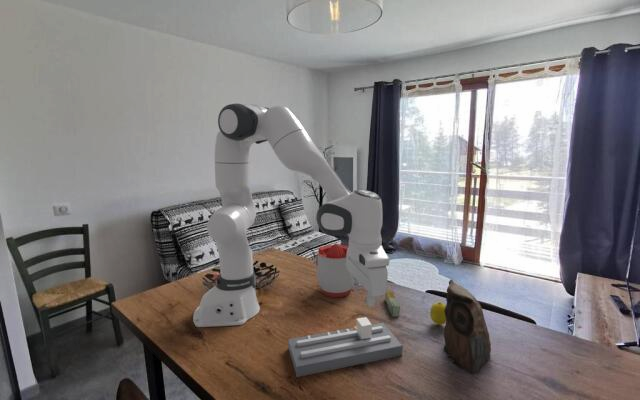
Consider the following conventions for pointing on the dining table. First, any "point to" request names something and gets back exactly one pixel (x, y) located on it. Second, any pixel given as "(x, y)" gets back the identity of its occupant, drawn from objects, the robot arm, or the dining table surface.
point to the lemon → (438, 313)
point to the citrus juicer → (333, 270)
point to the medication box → (392, 304)
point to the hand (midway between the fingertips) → (363, 296)
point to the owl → (465, 330)
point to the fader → (364, 328)
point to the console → (341, 349)
